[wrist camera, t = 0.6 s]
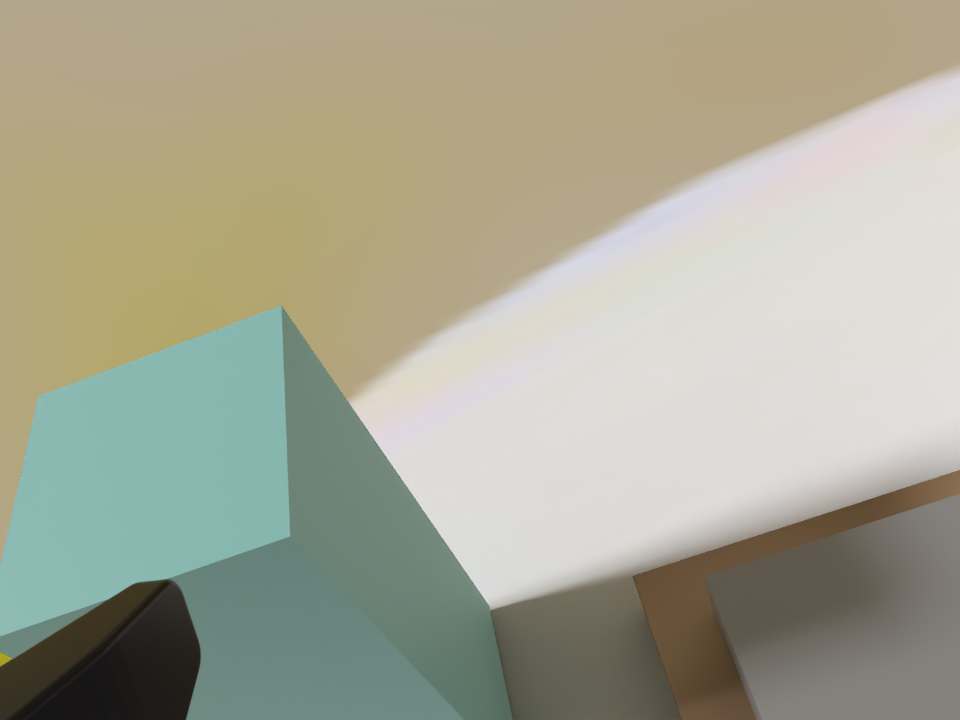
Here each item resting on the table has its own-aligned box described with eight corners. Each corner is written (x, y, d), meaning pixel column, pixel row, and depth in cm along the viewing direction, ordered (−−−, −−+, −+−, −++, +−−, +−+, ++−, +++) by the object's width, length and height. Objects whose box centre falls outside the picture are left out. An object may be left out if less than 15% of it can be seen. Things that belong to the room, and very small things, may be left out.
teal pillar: (526, 785, 22) (290, 537, 13) (342, 841, 22) (-17, 642, 13) (489, 606, 25) (281, 305, 16) (330, 658, 26) (38, 396, 17)
